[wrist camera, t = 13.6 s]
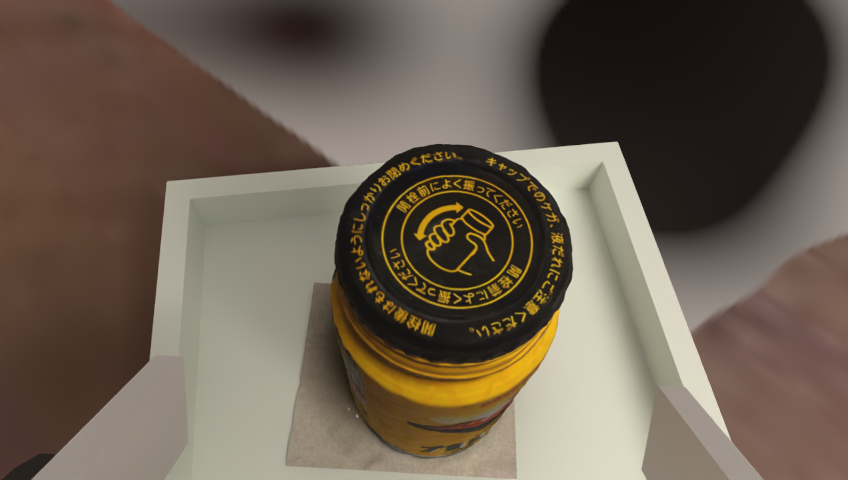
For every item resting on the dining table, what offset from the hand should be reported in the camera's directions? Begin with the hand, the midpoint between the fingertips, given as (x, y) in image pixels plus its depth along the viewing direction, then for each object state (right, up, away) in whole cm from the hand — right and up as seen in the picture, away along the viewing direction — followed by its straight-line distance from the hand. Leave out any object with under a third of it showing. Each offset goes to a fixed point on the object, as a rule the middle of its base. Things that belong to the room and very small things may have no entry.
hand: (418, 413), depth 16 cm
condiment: (-1, -1, +7) cm, 7 cm away
